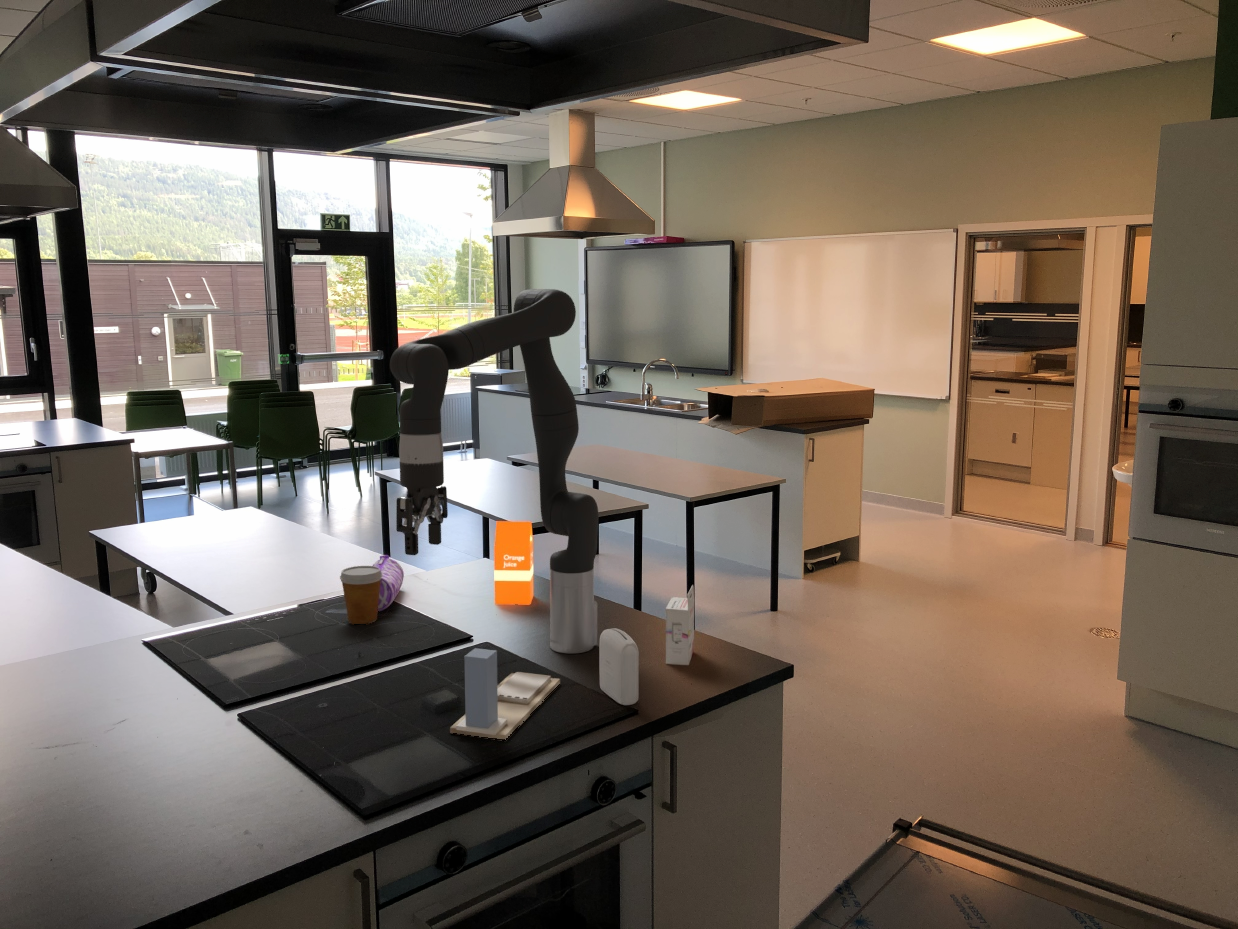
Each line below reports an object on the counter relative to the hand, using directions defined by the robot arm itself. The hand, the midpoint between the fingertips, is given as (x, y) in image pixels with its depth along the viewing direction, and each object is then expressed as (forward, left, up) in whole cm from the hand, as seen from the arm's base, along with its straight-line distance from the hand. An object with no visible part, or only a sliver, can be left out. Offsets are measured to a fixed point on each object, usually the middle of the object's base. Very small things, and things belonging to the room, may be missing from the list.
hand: (423, 549), depth 166 cm
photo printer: (-27, +22, -28) cm, 45 cm away
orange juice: (-50, -40, -28) cm, 70 cm away
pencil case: (-26, -62, -28) cm, 73 cm away
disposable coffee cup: (-14, -50, -28) cm, 59 cm away
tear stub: (+1, +18, -27) cm, 33 cm away
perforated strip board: (-9, +12, -28) cm, 32 cm away
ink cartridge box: (-50, +16, -28) cm, 60 cm away
